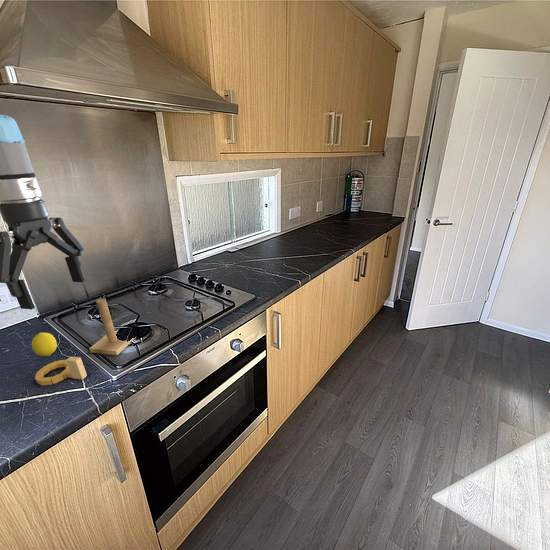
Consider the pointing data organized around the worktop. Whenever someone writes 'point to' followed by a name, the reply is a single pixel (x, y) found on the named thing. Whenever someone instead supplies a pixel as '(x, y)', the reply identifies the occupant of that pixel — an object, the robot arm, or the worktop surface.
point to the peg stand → (108, 334)
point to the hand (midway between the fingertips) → (55, 293)
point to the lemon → (44, 344)
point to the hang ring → (72, 370)
